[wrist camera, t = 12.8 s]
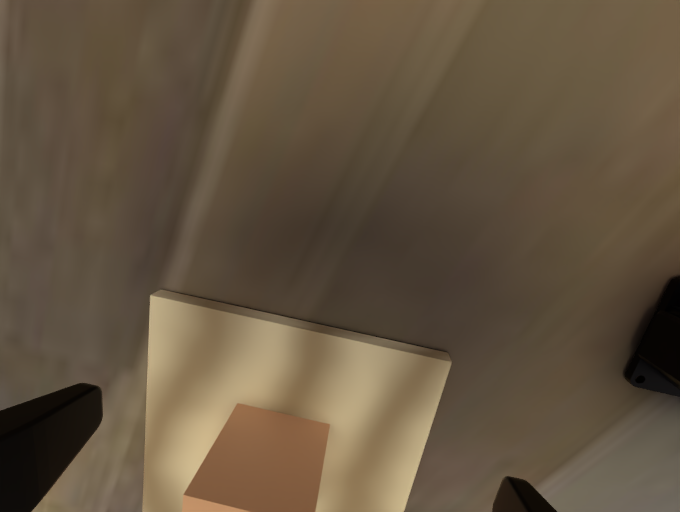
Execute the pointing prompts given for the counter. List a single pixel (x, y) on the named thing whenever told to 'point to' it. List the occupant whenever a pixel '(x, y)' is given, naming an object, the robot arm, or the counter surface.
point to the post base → (286, 398)
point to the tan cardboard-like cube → (260, 465)
